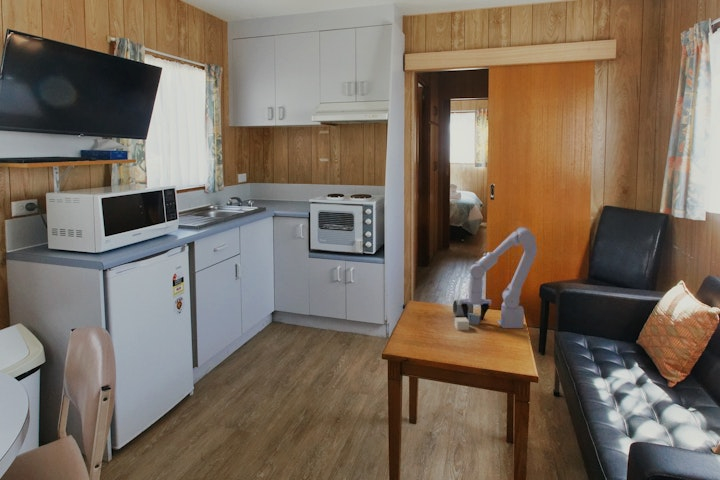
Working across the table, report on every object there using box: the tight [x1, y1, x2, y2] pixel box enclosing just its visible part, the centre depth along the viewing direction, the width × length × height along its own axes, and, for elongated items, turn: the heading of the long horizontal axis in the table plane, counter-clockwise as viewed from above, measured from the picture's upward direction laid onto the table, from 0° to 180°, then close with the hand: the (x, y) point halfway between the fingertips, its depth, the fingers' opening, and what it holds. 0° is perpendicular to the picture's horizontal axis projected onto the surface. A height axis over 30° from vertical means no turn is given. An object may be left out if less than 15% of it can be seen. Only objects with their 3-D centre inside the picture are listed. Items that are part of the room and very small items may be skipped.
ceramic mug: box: [452, 299, 474, 317], centre depth 239 cm, size 11×8×8 cm
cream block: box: [453, 316, 470, 331], centre depth 223 cm, size 5×5×4 cm
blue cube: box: [467, 312, 481, 326], centre depth 229 cm, size 4×4×4 cm
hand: (473, 319), depth 229 cm, fingers open, 7 cm apart
